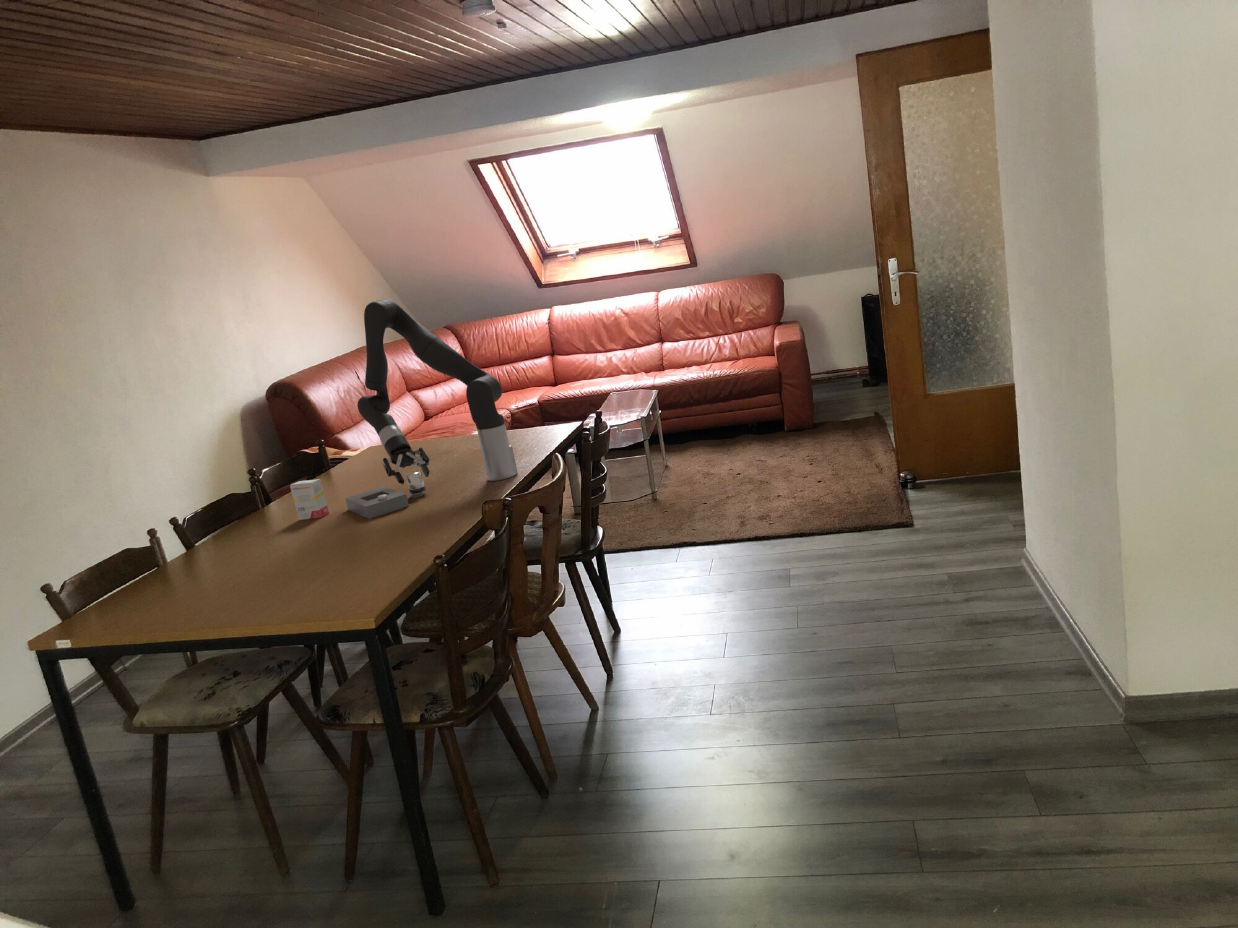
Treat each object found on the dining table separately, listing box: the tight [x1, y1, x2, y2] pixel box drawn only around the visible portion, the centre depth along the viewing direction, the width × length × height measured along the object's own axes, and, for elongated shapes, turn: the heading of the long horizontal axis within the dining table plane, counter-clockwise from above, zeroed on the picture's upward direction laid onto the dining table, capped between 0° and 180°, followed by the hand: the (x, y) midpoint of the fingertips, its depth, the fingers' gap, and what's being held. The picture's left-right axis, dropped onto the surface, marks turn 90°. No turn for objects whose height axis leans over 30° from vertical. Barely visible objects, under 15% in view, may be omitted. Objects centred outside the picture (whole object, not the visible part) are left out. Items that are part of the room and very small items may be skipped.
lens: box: [405, 470, 427, 499], centre depth 307 cm, size 5×5×8 cm
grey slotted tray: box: [344, 485, 410, 520], centre depth 300 cm, size 13×20×5 cm, turn 35°
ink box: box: [289, 478, 330, 521], centre depth 303 cm, size 9×5×12 cm, turn 74°
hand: (415, 479), depth 306 cm, fingers open, 8 cm apart
